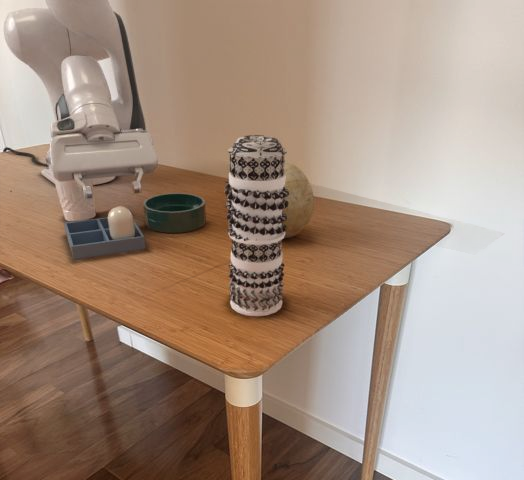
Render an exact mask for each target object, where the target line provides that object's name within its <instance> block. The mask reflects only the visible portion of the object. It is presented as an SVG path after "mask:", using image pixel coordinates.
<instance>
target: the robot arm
mask: <svg viewBox="0 0 524 480" xmlns="http://www.w3.org/2000/svg"><path fill="white" fill-rule="evenodd" d="M45 3H46V6H47V8H41V7H40V8H37V7H36V8H35V7H29V8H24V9H19V10H14V11H11V12H9V13H8V14H7V15H6V16H5V19H4V22H3V37H4V40H5V43H6V45H7V47H8V49H9V50H10V52H11V53H12V54H13V56H14V57H16V58H17V60H19V61H20V62H22V63H24V64H25V65H27V66H28V67H29V68H30V69H31V70H32V71H33V72H34V73H35V74H36V75H37V76H38V77H39V79H40V80H41V82H42V83H43V85H44V87H45V88H46V89H45V90H46V92H47V93H48V97H49V100H50V103H51V107H52V111H53V115H54V116H53V117H54V121H53V122H52V123H51V124H50V138H51V139H50V142H49V149H48V150H47V152H46V156H45V157H44V160H45V163H43V162H40V161H39V160H36V159H35V158H36V157H35V154H33V153H30V152H24V151H17V150H14V149H13V148H11V147H8V146H6V147H4V148H3V150H2V152H3V153H7V151H9V152H11V153H13V154H15V155H20V156H26V157H27V156H28V157H30V159H31V162H33V164H34V163H35V164H37V165H38V166H42V167H46V168H44V169H42V170H40V173H41V176H43V177H45V178H46V179H47V180H48V181H50V182H51V183H53V184H54V185H55V182H54V178H55V179H56V180H58V181H60V182H62V181H72V180H74V182H75V185H76V186H77V187H78V188H79V189H80V190H81V191H83V194H84V198H85V199H88V198H93V197H92V196H93V195H92V191H91V186H85V184H84V183H83V182H82V179H92V183H93V186H95V185H100V184H101V185H102V184H105V183H109V182H112V181H113V180H115V179H116V177H122V176H132V175H133V176H134V178H135V179H136V180H134V181H132V183H131V188H132V190H133V191H132V192H133V194H141V193H142V185H141V183H142V180H143V176H144V174H153V173H154V172H156V170H157V168H158V165H159V159H158V155H157V152H156V150H155V148H154V139H153V136H152V134H151V132H149V131H147V125H146V119H145V115H144V113H143V108H142V105H141V100H140V96H139V89H138V84H137V78H136V73H135V68H134V63H133V62H134V61H133V57H132V52H131V51H132V50H131V46H130V41H129V37H128V33H127V29H126V25H125V24H124V20H123V19H122V17H121V15H120V14H118V13H117V12H116V11H114V10H113V8H112V6H111V3H110V1H109V0H45ZM106 59H110V62H111V67H112V73H113V78H114V81H115V87H116V92H117V98H116V99H114V100H113V99H112V95H111V94H112V93H111V90H110V87H109V84H108V80H107V78H106V75H105V73H104V70H103V69H102V66H101V64H100V63H99V62H100V61H104V60H106ZM53 176H54V178H53Z"/></svg>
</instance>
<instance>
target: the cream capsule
mask: <svg viewBox="0 0 524 480" xmlns="http://www.w3.org/2000/svg"><path fill="white" fill-rule="evenodd" d="M133 215H134V214H133V213H132V212H131V210H130V209H129V208H127V207H125V206H121V205H119V206H115V207H113V208H111V209H110V210H109V211H108V213H107V217H108V225H109V231H110V236H111V238H112V239H113V240H117V239H124V238H132V237H135V226H134V221H135V220H134V216H133Z"/></svg>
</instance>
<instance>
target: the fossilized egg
mask: <svg viewBox="0 0 524 480" xmlns="http://www.w3.org/2000/svg"><path fill="white" fill-rule="evenodd" d="M284 173H285V174H286V178H285V185H284V187H285V188H286V189H287V190H288V191H289V195H288V196H287V197H285V198H283V199H285V200H287V201H288V202H289V204H288V207H286V208H284V209H282V211H283V213H284V214H286V215H287V220H286V221H284V222H283V224H284V225H286V226H287V228H286V231H285V236H284V238H283V239H289V238H292V237H294V236H297V235H298V234H300V233H301V232H302V231H303V230H304V229H305V228H306V227H307V225H308V224H309V223H310V221H311V219H312V217H313V213H314V208H315V196H314V191H313V188H312V185H311V183H310V181H309V179H308V177H307V175H305V173H304V172H303V171H302V170H301V169H300V168H299V167H298V166H297V165H296V164H294V163H292V162H289V161H285V166H284ZM284 187H283V188H284Z"/></svg>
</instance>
